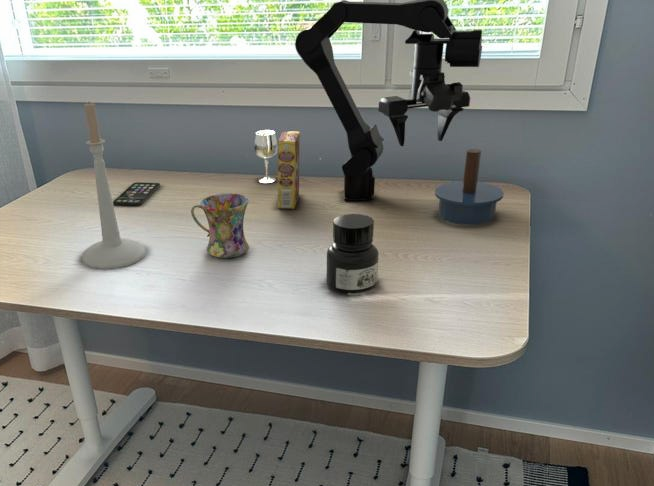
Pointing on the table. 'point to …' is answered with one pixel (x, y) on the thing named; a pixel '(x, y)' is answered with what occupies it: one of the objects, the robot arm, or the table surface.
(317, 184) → the table surface
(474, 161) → the tin lid
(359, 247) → the ink bottle
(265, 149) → the wineglass
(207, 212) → the mug
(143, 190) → the smartphone
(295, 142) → the candy box
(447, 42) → the robot arm
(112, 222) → the candlestick
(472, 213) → the tin
